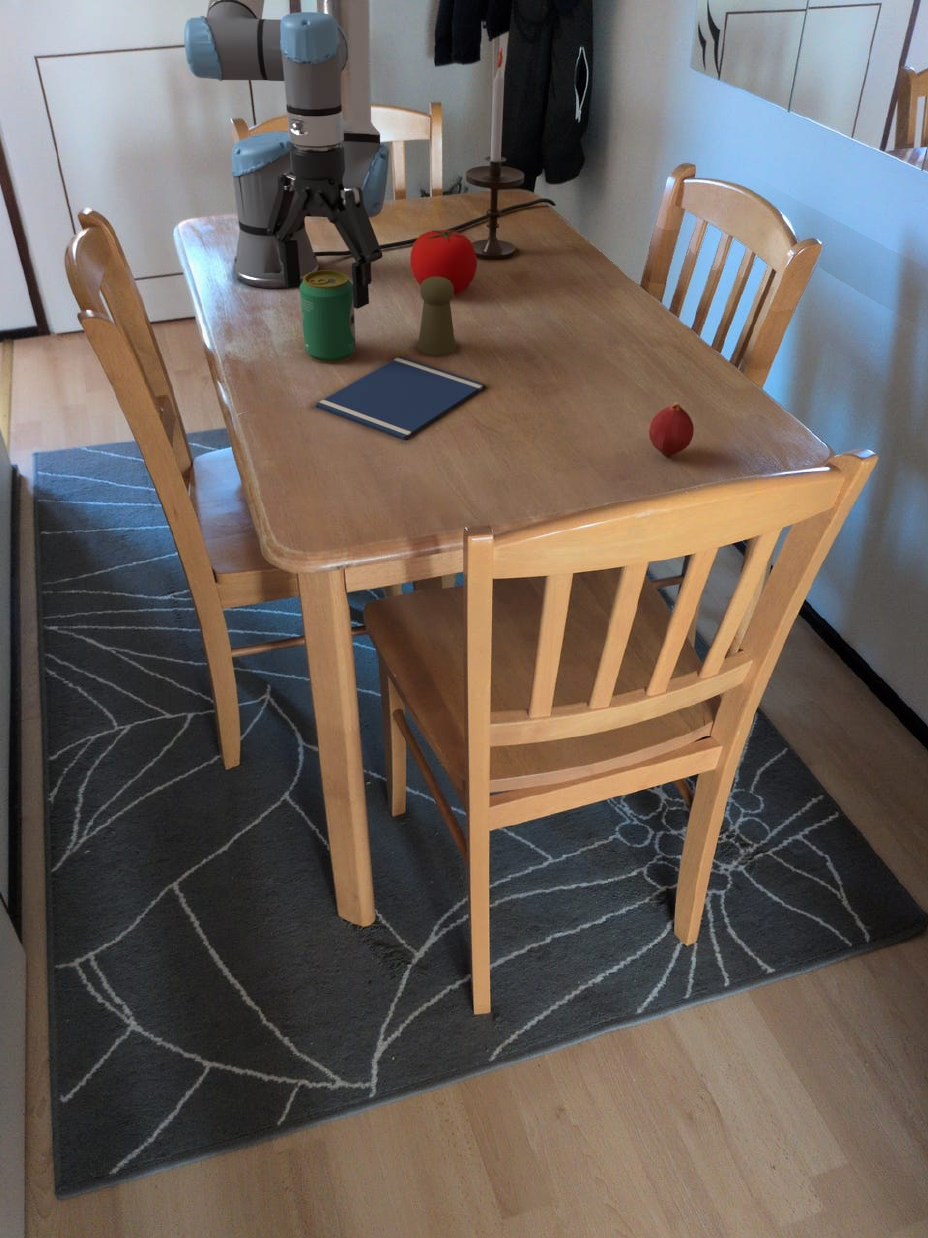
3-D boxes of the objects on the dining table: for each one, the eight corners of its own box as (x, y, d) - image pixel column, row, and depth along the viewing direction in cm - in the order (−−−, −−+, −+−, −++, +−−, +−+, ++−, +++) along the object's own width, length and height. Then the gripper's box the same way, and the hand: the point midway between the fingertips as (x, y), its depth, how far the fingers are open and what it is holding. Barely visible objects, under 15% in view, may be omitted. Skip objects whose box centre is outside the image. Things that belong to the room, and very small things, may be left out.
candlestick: (485, 238, 200) (492, 39, 177) (530, 250, 195) (543, 47, 173) (453, 253, 193) (456, 48, 171) (499, 265, 188) (508, 56, 166)
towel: (400, 358, 156) (400, 355, 156) (484, 387, 149) (485, 383, 149) (315, 406, 143) (315, 403, 143) (404, 440, 136) (404, 436, 136)
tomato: (487, 297, 176) (489, 237, 169) (427, 307, 172) (427, 246, 165) (457, 274, 184) (459, 216, 178) (400, 283, 180) (399, 224, 173)
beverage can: (359, 362, 155) (355, 286, 147) (307, 365, 153) (301, 289, 146) (352, 340, 161) (349, 266, 153) (303, 344, 159) (296, 269, 152)
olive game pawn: (451, 357, 157) (452, 288, 150) (413, 352, 158) (413, 284, 151) (458, 341, 162) (460, 274, 155) (422, 337, 162) (422, 270, 155)
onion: (641, 445, 137) (649, 391, 132) (682, 444, 137) (692, 391, 132) (651, 467, 132) (659, 412, 127) (693, 466, 133) (703, 412, 128)
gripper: (232, 134, 140) (249, 283, 154) (370, 165, 130) (375, 322, 143) (269, 125, 145) (282, 270, 159) (404, 153, 135) (407, 306, 148)
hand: (326, 295), depth 151 cm, fingers open, 13 cm apart
